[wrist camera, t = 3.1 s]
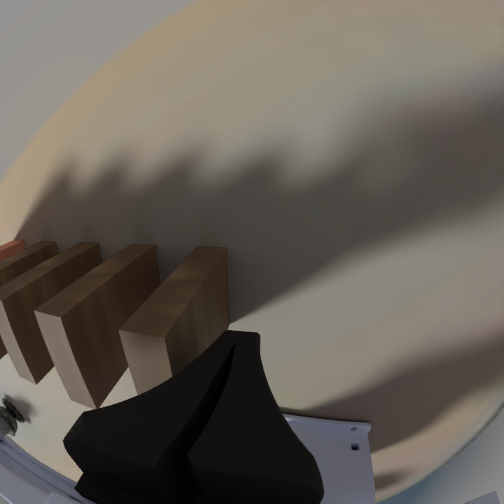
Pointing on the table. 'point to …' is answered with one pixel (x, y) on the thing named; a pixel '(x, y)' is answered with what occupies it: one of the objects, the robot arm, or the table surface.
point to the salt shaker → (9, 418)
